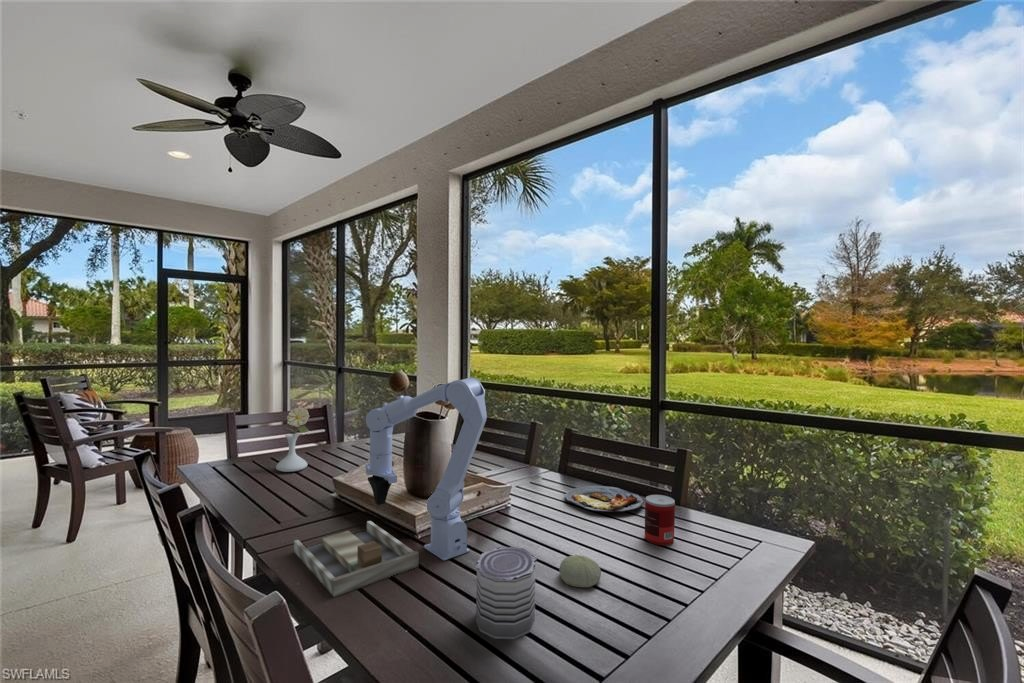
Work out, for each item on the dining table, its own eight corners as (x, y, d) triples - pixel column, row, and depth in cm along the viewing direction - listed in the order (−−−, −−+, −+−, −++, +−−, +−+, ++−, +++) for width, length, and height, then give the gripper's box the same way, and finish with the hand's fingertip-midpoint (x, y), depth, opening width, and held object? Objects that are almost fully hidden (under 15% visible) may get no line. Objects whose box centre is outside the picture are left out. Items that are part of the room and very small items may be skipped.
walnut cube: (381, 564, 108) (381, 546, 108) (364, 569, 106) (365, 552, 106) (373, 557, 111) (374, 541, 111) (357, 563, 109) (357, 545, 109)
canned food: (675, 536, 131) (676, 497, 131) (672, 548, 124) (673, 506, 124) (647, 531, 135) (647, 492, 134) (642, 542, 127) (643, 501, 127)
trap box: (418, 567, 112) (418, 552, 112) (333, 597, 99) (333, 581, 99) (370, 531, 131) (370, 519, 131) (293, 552, 118) (294, 539, 118)
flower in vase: (269, 473, 183) (269, 408, 182) (287, 465, 194) (288, 404, 194) (300, 475, 181) (300, 409, 180) (317, 467, 192) (317, 405, 192)
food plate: (658, 507, 153) (658, 496, 153) (606, 523, 140) (606, 511, 140) (602, 488, 174) (602, 478, 174) (552, 500, 161) (552, 490, 161)
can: (547, 626, 90) (548, 563, 90) (497, 648, 84) (498, 580, 83) (512, 598, 99) (513, 541, 99) (464, 616, 93) (465, 555, 93)
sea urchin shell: (595, 587, 101) (571, 554, 104) (570, 605, 104) (548, 572, 107) (610, 569, 108) (587, 539, 111) (587, 586, 111) (565, 556, 114)
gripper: (355, 449, 129) (354, 499, 129) (379, 461, 118) (378, 515, 119) (379, 446, 134) (378, 493, 134) (404, 456, 123) (404, 508, 123)
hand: (380, 503), depth 127 cm, fingers closed
